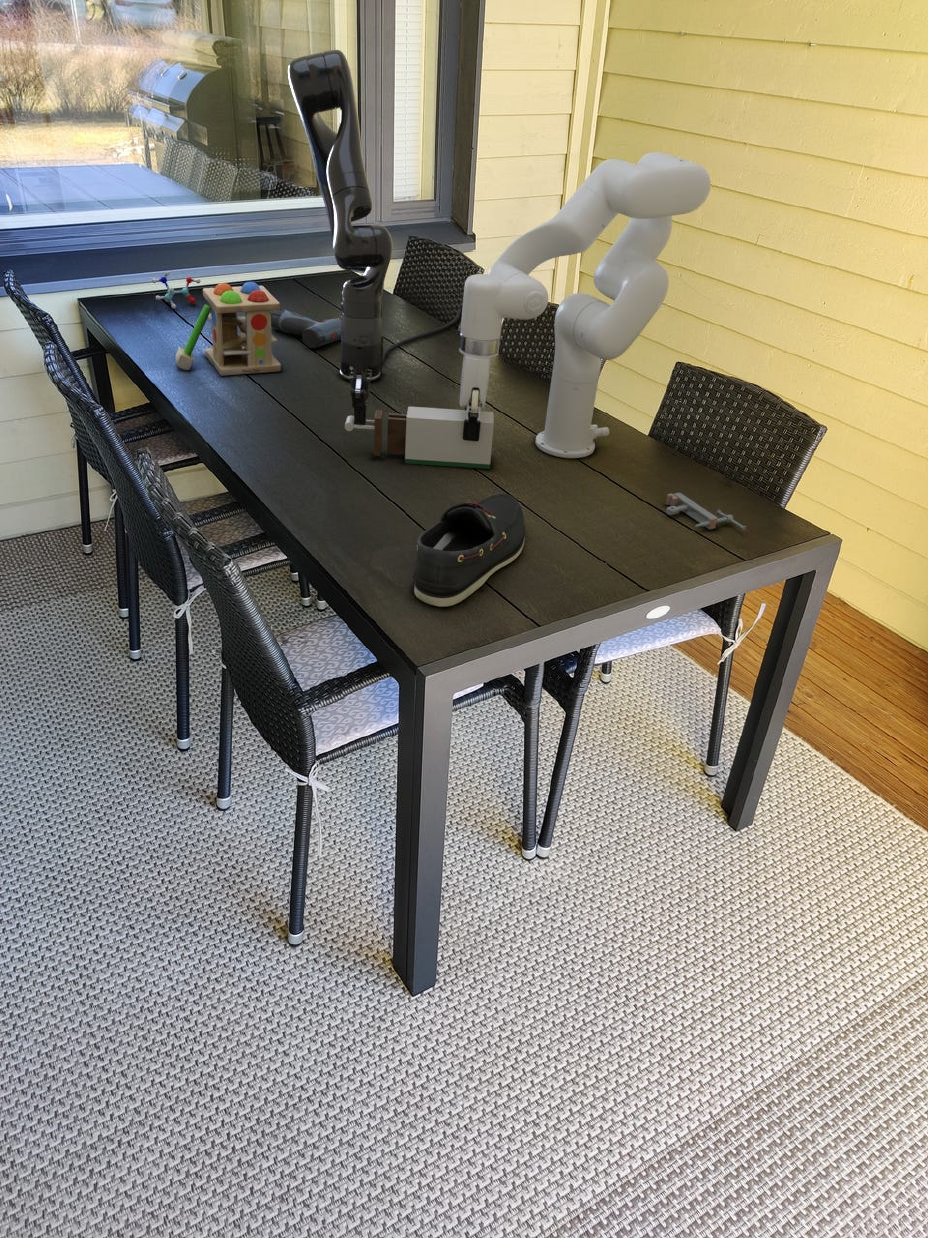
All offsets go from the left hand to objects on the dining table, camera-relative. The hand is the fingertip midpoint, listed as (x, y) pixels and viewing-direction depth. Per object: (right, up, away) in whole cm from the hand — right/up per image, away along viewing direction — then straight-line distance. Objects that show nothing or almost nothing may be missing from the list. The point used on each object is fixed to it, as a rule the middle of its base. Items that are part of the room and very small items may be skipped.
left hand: (360, 424), depth 193 cm
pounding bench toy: (-36, +21, +37) cm, 56 cm away
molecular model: (-58, +46, +71) cm, 103 cm away
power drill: (-19, +35, +60) cm, 72 cm away
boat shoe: (+22, -29, -27) cm, 45 cm away
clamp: (+65, -20, -8) cm, 68 cm away
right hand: (+22, -2, +1) cm, 22 cm away
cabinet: (+17, -6, +4) cm, 19 cm away
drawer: (+8, -5, +3) cm, 10 cm away
